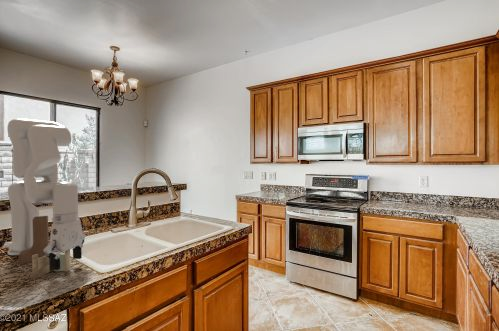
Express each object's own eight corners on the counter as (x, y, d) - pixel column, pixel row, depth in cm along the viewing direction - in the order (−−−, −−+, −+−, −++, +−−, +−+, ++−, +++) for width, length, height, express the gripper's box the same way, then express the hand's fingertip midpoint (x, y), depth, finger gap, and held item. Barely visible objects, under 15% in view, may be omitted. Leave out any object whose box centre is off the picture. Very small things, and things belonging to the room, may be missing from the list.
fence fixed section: (36, 281, 89) (35, 255, 88) (30, 281, 89) (30, 255, 89) (56, 271, 97) (55, 247, 96) (51, 270, 97) (51, 247, 97)
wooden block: (18, 265, 101) (17, 220, 101) (21, 262, 105) (20, 218, 104) (47, 261, 106) (46, 217, 105) (49, 257, 110) (48, 215, 109)
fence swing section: (53, 271, 95) (52, 249, 95) (57, 269, 96) (56, 247, 96) (68, 271, 94) (67, 250, 94) (71, 269, 96) (70, 248, 96)
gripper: (54, 223, 85) (55, 274, 86) (92, 212, 103) (93, 255, 103) (34, 223, 86) (35, 273, 87) (75, 212, 103) (76, 254, 104)
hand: (66, 263), depth 95 cm, fingers open, 9 cm apart
